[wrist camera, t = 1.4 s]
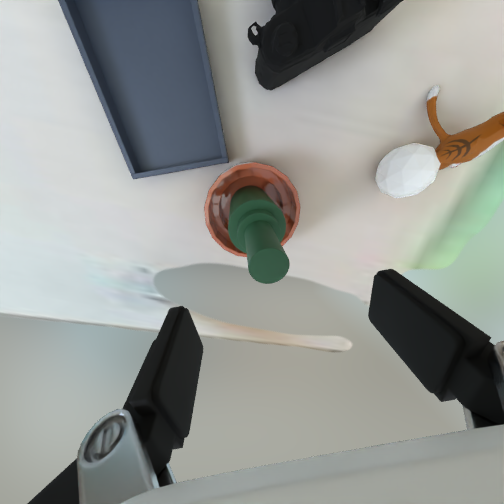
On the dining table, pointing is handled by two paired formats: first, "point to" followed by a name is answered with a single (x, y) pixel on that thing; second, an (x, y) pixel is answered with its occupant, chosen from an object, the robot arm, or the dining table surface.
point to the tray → (151, 80)
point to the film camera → (310, 34)
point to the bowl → (249, 175)
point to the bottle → (259, 233)
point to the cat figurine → (435, 154)
